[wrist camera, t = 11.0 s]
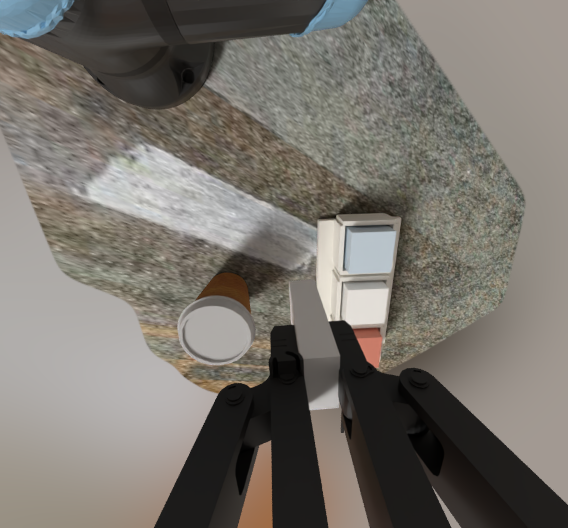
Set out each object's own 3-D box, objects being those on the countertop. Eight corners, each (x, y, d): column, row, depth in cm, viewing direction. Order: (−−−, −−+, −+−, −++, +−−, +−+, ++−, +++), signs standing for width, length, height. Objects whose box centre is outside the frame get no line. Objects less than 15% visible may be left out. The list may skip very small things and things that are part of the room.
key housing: (317, 213, 41) (323, 222, 37) (399, 210, 42) (415, 219, 37) (314, 346, 50) (319, 366, 46) (381, 343, 51) (393, 362, 46)
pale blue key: (344, 224, 39) (352, 232, 35) (384, 223, 39) (396, 231, 36) (341, 262, 41) (349, 273, 38) (380, 261, 41) (391, 272, 38)
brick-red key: (338, 323, 45) (344, 339, 41) (373, 321, 45) (382, 337, 42) (336, 352, 47) (342, 369, 44) (369, 350, 48) (378, 367, 44)
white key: (341, 277, 42) (347, 290, 38) (378, 276, 42) (388, 288, 39) (339, 310, 44) (345, 325, 41) (374, 308, 44) (384, 323, 41)
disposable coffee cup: (260, 264, 44) (257, 304, 33) (256, 317, 47) (252, 369, 36) (197, 260, 43) (172, 299, 32) (197, 314, 47) (175, 366, 36)
